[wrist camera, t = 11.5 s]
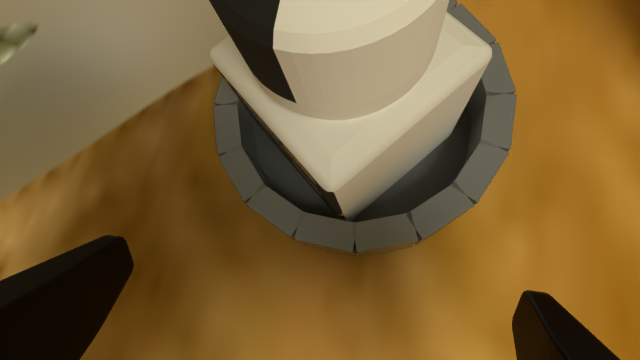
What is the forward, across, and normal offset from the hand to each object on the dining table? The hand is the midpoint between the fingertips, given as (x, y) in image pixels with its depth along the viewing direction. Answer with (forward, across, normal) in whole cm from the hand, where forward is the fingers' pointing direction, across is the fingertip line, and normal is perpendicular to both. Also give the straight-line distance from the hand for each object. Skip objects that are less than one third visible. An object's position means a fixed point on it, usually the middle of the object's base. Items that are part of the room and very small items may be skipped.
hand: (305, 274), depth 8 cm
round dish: (+13, 0, +1) cm, 13 cm away
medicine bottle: (+12, 0, +2) cm, 12 cm away
